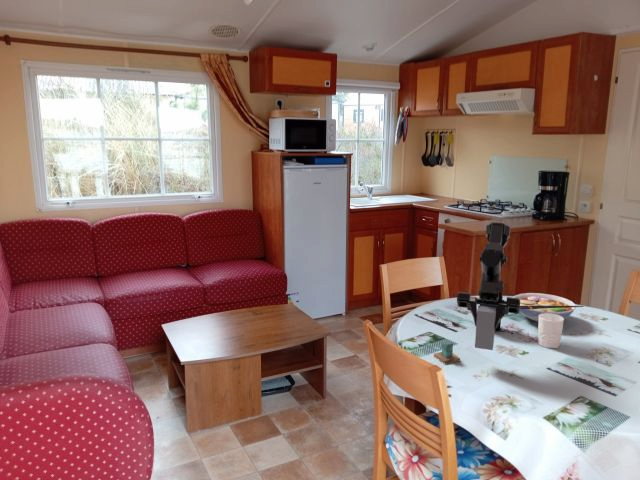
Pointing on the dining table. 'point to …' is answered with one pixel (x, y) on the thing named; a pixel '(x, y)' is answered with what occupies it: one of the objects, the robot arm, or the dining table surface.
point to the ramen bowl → (544, 305)
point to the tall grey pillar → (485, 327)
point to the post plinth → (452, 359)
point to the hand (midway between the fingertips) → (485, 327)
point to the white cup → (550, 330)
